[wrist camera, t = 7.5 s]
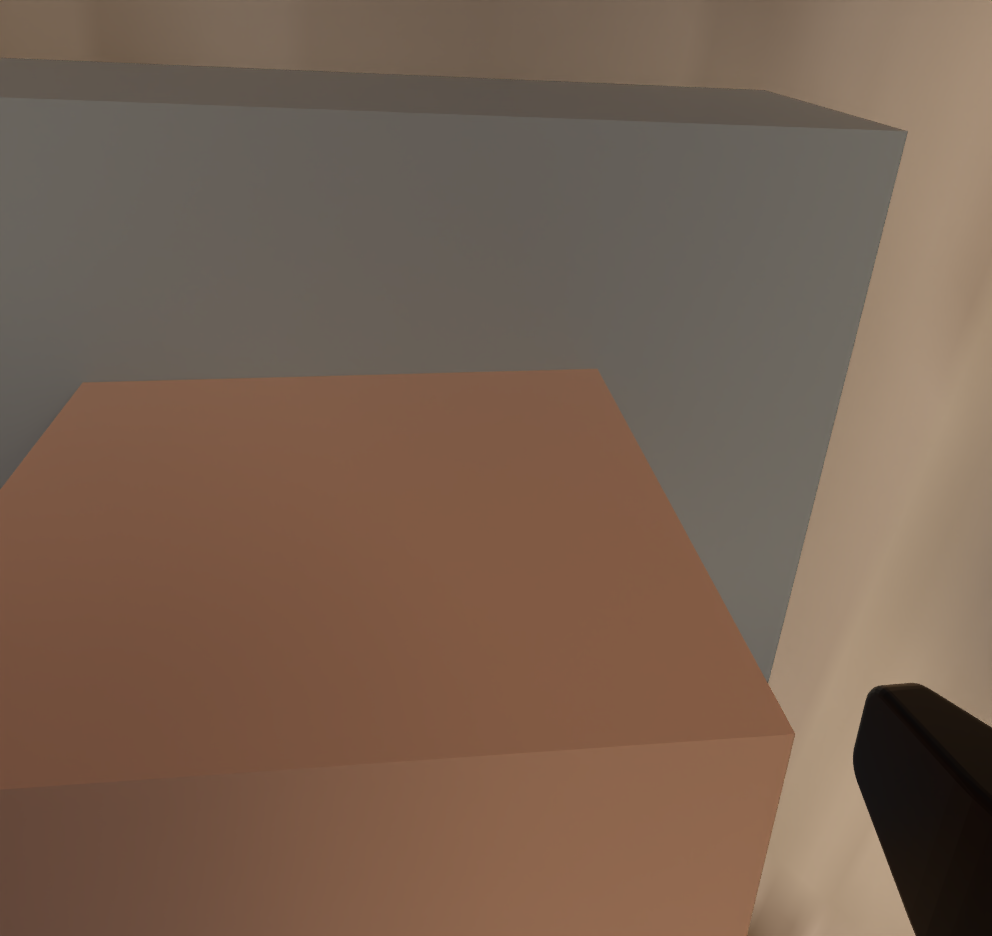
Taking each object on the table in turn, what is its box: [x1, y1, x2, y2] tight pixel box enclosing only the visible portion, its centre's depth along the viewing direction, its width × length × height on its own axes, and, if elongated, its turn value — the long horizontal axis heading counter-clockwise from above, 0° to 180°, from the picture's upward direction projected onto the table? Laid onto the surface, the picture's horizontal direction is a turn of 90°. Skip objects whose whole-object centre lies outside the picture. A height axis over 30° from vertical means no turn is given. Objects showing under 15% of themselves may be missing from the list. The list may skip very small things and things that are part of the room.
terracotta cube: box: [0, 369, 795, 936], centre depth 8 cm, size 5×5×5 cm
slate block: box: [0, 58, 908, 683], centre depth 12 cm, size 10×10×4 cm
